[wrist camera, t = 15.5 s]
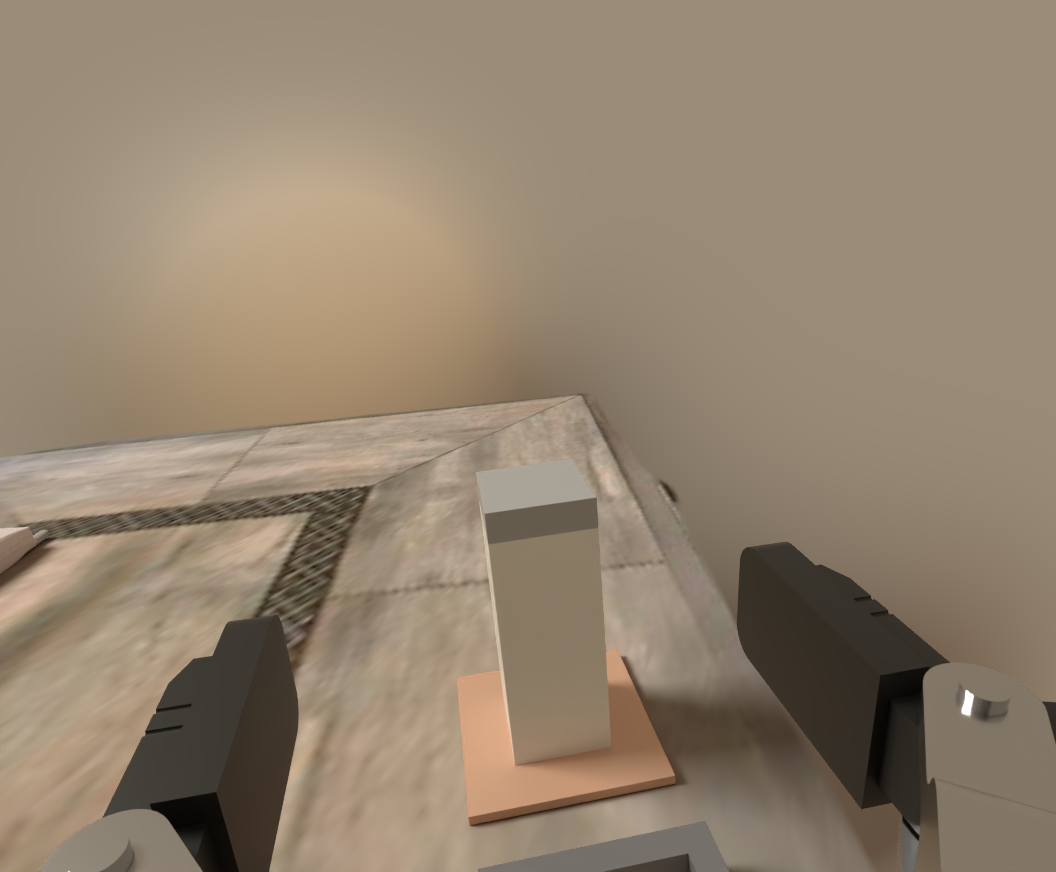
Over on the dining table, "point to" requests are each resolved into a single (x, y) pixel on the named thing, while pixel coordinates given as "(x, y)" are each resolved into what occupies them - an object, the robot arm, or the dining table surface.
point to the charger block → (547, 607)
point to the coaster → (558, 780)
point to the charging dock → (633, 855)
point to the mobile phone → (17, 544)
